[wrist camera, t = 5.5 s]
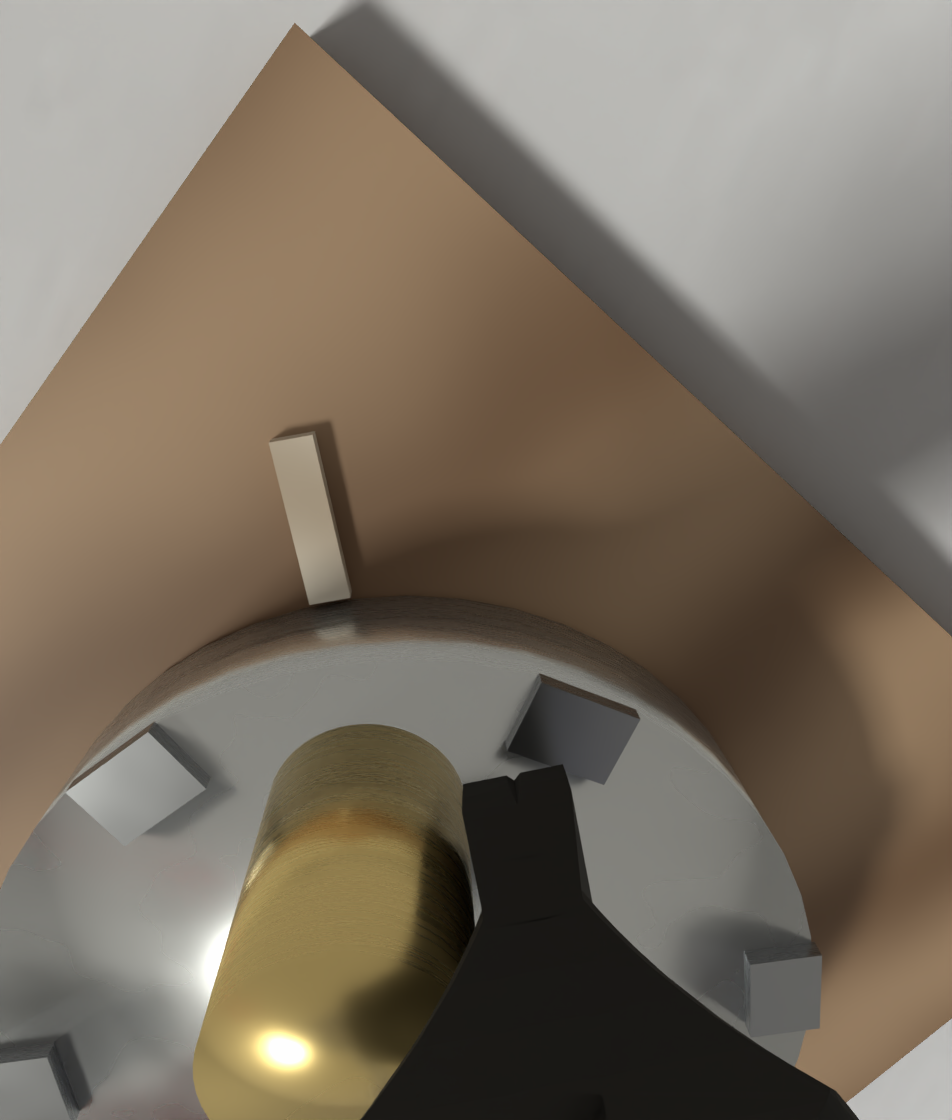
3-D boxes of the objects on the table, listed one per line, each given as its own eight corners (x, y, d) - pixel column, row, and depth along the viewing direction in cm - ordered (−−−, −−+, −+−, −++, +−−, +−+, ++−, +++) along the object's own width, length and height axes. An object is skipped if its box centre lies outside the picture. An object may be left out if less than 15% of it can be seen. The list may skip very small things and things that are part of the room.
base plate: (1134, 812, 18) (1184, 851, 17) (470, 1354, 23) (472, 1415, 22) (304, 40, 13) (291, 17, 12) (-346, 964, 18) (-404, 1016, 16)
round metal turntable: (759, 548, 15) (1030, 782, 8) (759, 1130, 19) (931, 1578, 13) (-57, 649, 15) (-458, 974, 8) (141, 1214, 19) (-6, 1712, 13)
